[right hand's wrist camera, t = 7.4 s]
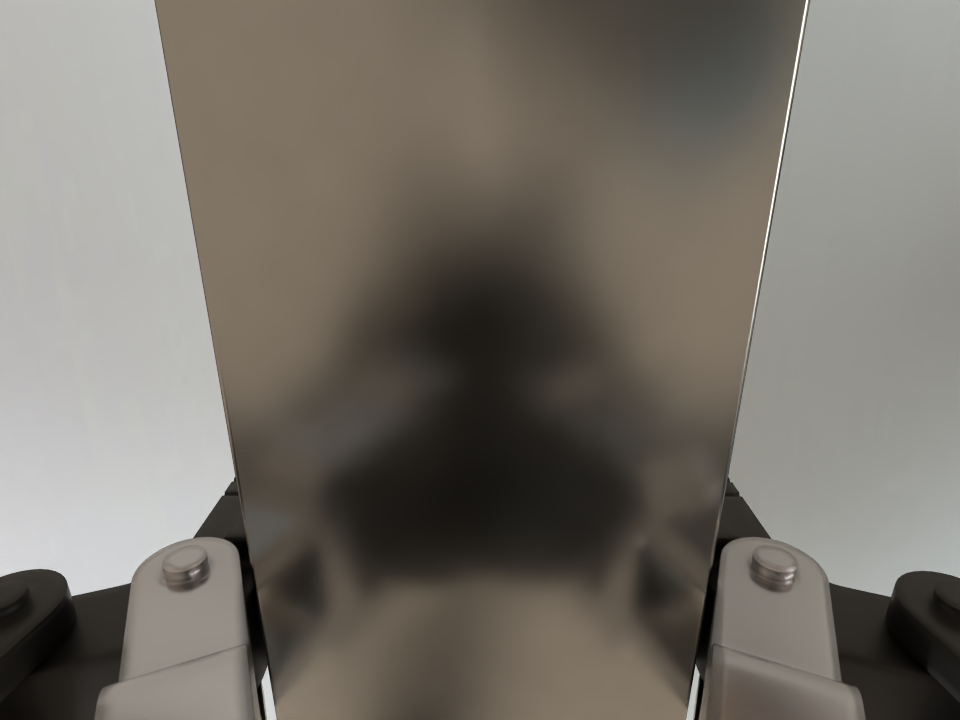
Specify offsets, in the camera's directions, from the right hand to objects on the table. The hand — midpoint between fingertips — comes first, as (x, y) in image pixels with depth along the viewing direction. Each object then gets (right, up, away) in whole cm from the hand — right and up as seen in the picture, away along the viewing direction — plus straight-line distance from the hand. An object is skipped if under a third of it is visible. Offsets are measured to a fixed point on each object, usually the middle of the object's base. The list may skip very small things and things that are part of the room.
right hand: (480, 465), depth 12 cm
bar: (0, +9, +1) cm, 9 cm away
